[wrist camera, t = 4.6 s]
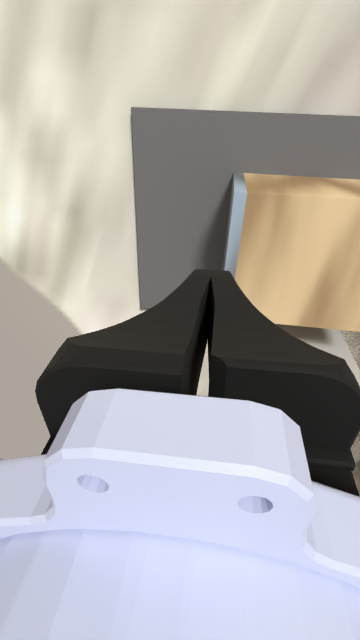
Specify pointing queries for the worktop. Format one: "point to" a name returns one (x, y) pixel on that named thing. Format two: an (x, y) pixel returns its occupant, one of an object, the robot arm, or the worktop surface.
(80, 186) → the worktop surface
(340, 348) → the grey block
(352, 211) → the oak block
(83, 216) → the worktop surface
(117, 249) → the worktop surface
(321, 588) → the robot arm
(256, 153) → the grey flat rectangular piece
